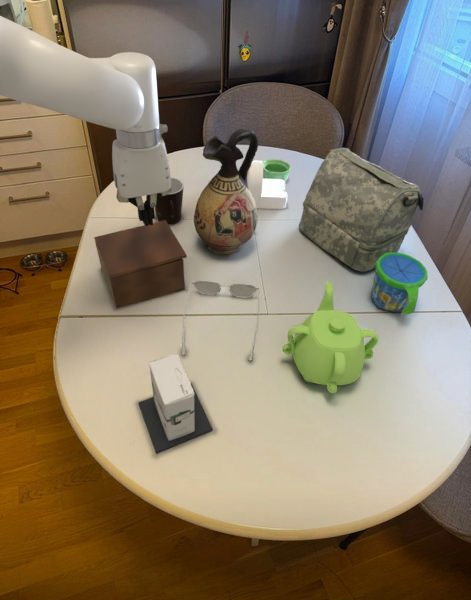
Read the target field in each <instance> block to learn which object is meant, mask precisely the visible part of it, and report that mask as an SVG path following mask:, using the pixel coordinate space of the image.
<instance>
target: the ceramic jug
mask: <svg viewBox="0 0 471 600" xmlns="http://www.w3.org/2000/svg"><path fill="white" fill-rule="evenodd" d="M244 140H245V141H249V145H248V149H247V151H246V153H245V156H244V154H243V152H242V151H241V149H240V148H239V147H237V144H238V143H240V142H243V141H244ZM258 148H259V137H258V135H257V134H256V132H255V131H254V130H252V129H249V128H246V129H245V128H240V129H237V130H235V131H234V132H233V133H231V135H229V138H228V141H227V142H226V143H224V142H223V141H222V140H221V138H220V137H218V136H215V135H214V136H213V137H212V138H210V139H209V140H208V141H207V142H206V143H205V146H204V147H203V149H202V157H203V158H204V159H205V160H209V161H216V162H219V163H220V165H221V166H220V169H219V170H218V171H217V173H216V174H215V175H214V176H213V177H212V178H211V179H210V180H209V182H208V183H207V185H205V187H204V188H203V190H202V191H201V193H200V195H199V197H198V199H197V201H196V205H195V209H194V214H193V224H194V229H195V232H196V234H197V235H198V237H199V238H200V239H201V241H203V242H204V243H205V247H206V248H207V249H209V251H211V252H212V253H215V254H218V255H231V254H234V253H236V252H238V251H239V250H240V249H241V247H242V246H243V245H245V244H246V243H247V242H248V241H249V240H250V239H252V237H253V236H254V234H255V231H256V229H257V224H258V210H257V209H258V208H256V204H255V201H254V198H253V196H252V194H251V192H250V190H249V189H248V182H247V174H248V170H249V168H250V167H251V163H252V161H253V160H255V159H254V158H255V157H256V153H257V151H258ZM243 158H244V159H243ZM242 159H243V161H242V163H241V165H240V167H239V168H238V167H237V162H238V161H239V160H242Z"/></svg>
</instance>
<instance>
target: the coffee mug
mask: <svg viewBox="0 0 471 600" xmlns="http://www.w3.org/2000/svg"><path fill="white" fill-rule="evenodd" d="M170 177H171V176H170ZM184 186H185V185H184V183H183V181H182V180H181V179H178V178H177V177H171V186H170V188H171V193H170V194H167V195H165V196H162V197H161V198H160V199H159V201H158V202H157V203H156V206H155V207H154V212H155V216H156V219H157V222H160V221H164V220H166V222H167V223H168V225H169V226H173V225H176V224H178V223H180V221H181V220H182V209H183V208H182V207H183V198H184Z"/></svg>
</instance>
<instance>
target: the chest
mask: <svg viewBox="0 0 471 600" xmlns="http://www.w3.org/2000/svg"><path fill="white" fill-rule="evenodd" d="M94 243H95V248H96V252H97V255H98V260H99V265H100V267H101V272H102V274H103V275H102V276H103V277H104V280H105V283H106V286H107V288H108V290H109V293H110V295H111V298H112V301H113V303H114V306H115V309H116V310H118V309H122V308H124V307H129V306H131V305H135V304H139V303H142V302H145V301H149V300H153V299H158V298H160V297H165V296H167V295H171V294H176V293H178V292H181V291H185V287H186V286H185V268H184V258H183V259H179V260H176V261H172V262H168V263H165V264H161V265H157V266H154V267H150V268H146V269H143V270H139V271H135V272H132V273H128V274H124V275H121V276H117V277H113V278H109V275H108V273H107V270H106V267H105V265H104V262H103V260H102V257H101V255H100V252H99V249H98V247H97V244H96V242H95V241H94Z"/></svg>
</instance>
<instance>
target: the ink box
mask: <svg viewBox="0 0 471 600" xmlns="http://www.w3.org/2000/svg"><path fill="white" fill-rule="evenodd" d="M148 365H149V374H150V381H151V389H152V397H154V403H155V406H156V409H157V411H158V414H159V417H160V419H161V422H162V425H163V428H164V430H165V433H166V436H167V438H168V440H169V441H170V440H173V439H176V438H179V437H182V436H184V435H187V434H189V433H192V432H194V431H195V418H194V391H193V388H194V387H193V388H192V386H193V385H192V386H191V383H192V382H190V379H189V377H188V374H187V372H186V369H185V368H184V366H183V363H182V361H181V358H180V355H178V354H177V353H176V352H174V353H171V354H169V355H165V356H162V357H160V358H156V359H154V360H151V361H149V362H148Z"/></svg>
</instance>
